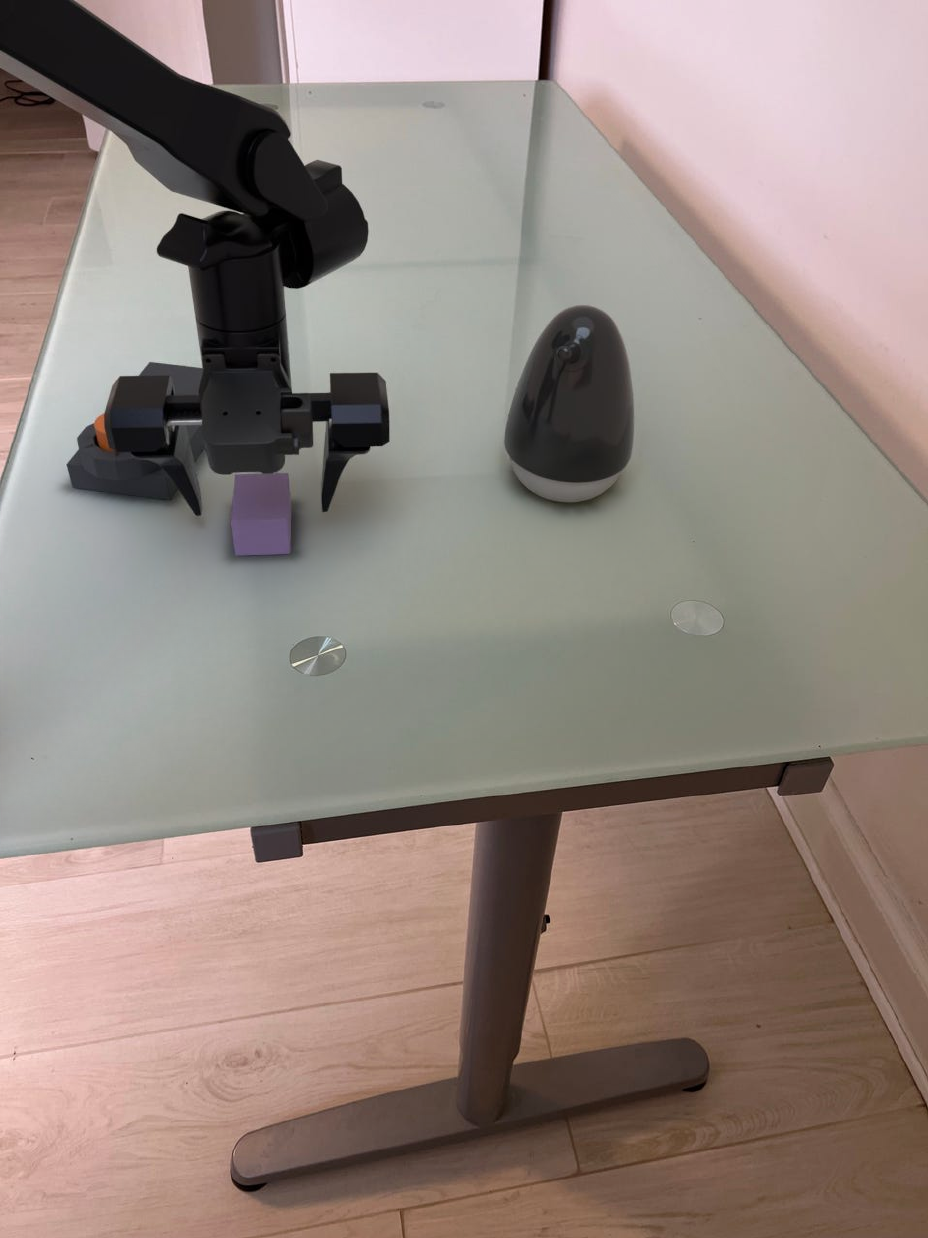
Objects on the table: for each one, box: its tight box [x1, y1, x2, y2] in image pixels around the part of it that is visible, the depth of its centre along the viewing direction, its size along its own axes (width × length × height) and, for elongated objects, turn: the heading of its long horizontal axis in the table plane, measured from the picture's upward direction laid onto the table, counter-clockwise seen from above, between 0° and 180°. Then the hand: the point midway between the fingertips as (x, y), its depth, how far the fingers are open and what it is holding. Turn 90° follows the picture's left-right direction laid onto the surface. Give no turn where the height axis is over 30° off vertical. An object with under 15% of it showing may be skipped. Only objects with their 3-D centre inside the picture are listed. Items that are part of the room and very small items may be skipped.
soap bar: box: [230, 472, 292, 557], centre depth 74 cm, size 6×4×3 cm, turn 7°
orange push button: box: [93, 413, 115, 452], centre depth 76 cm, size 4×4×2 cm
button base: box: [66, 361, 205, 501], centre depth 82 cm, size 18×8×4 cm, turn 172°
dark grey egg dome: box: [503, 304, 635, 503], centre depth 76 cm, size 10×10×15 cm
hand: (262, 511), depth 74 cm, fingers open, 9 cm apart
